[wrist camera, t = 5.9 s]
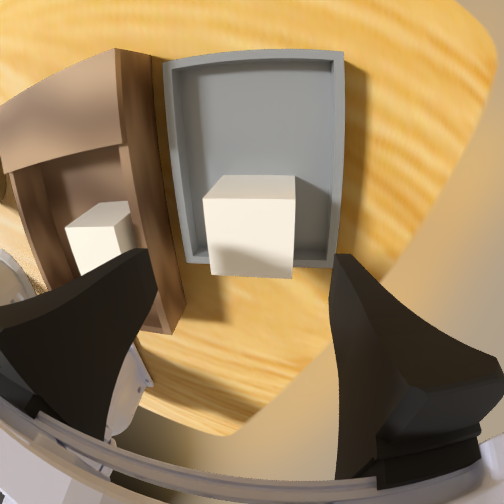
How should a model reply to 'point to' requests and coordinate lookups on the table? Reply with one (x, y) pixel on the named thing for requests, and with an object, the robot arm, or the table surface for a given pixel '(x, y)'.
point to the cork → (2, 181)
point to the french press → (13, 281)
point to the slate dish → (259, 137)
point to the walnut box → (91, 167)
